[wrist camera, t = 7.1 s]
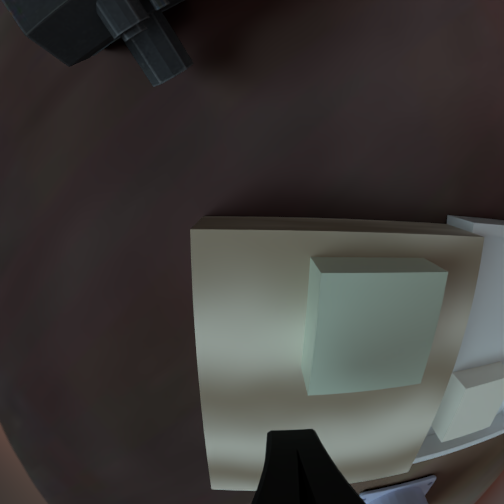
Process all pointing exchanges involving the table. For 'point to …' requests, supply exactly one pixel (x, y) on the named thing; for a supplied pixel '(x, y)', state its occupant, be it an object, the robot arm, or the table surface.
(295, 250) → the bench board
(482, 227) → the box
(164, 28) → the tool
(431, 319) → the tile sage
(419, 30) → the table surface
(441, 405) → the tile cream
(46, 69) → the table surface
